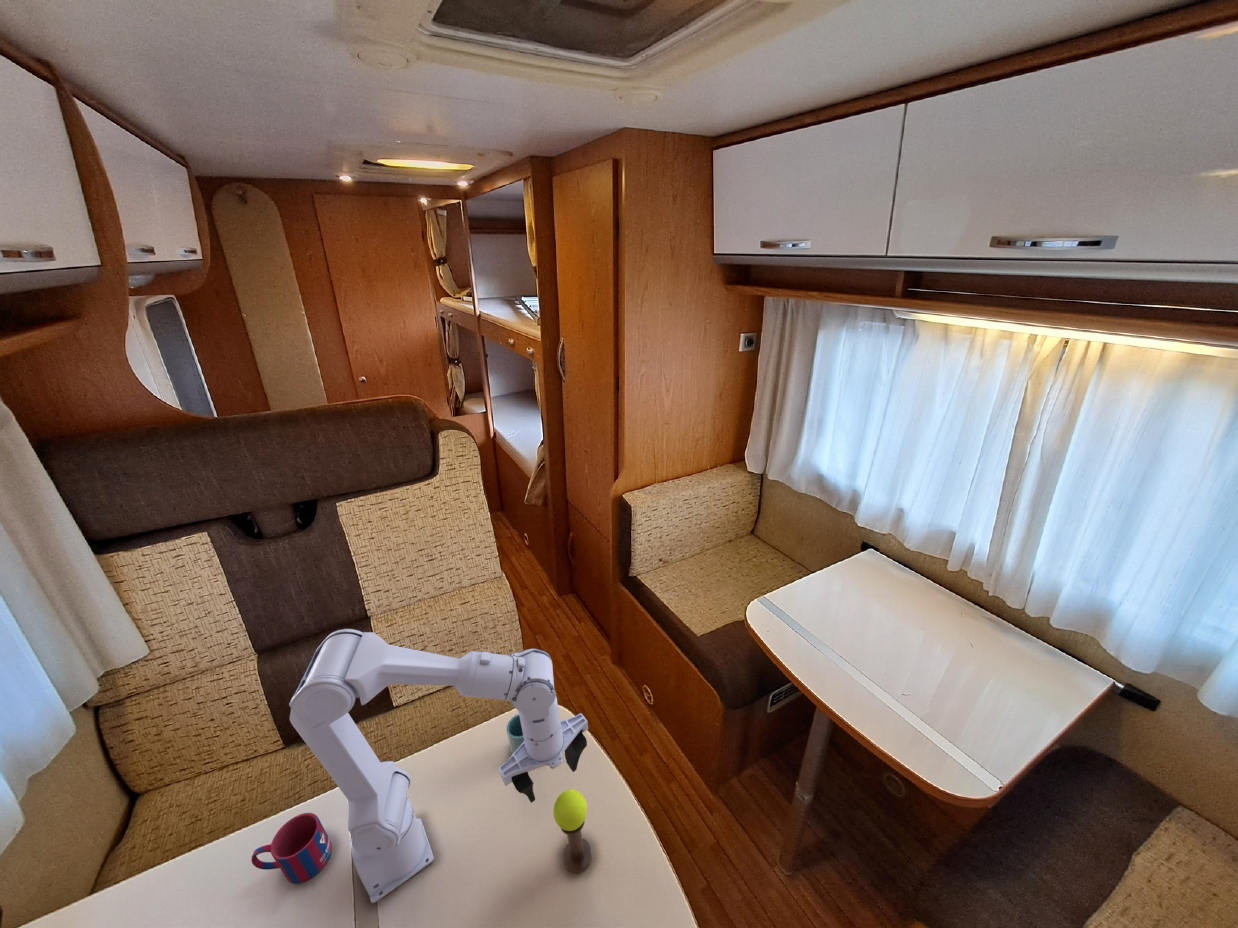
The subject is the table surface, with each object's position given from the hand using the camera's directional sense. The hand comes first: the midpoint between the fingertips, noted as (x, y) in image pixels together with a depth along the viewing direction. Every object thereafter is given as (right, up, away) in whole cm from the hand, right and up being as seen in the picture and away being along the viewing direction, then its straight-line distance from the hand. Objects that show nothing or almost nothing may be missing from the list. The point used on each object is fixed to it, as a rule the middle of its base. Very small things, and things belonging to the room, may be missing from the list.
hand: (551, 780), depth 78 cm
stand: (+4, -12, -1) cm, 12 cm away
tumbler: (-7, -4, +16) cm, 18 cm away
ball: (+4, -3, -5) cm, 7 cm away
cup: (-41, -14, +1) cm, 44 cm away
